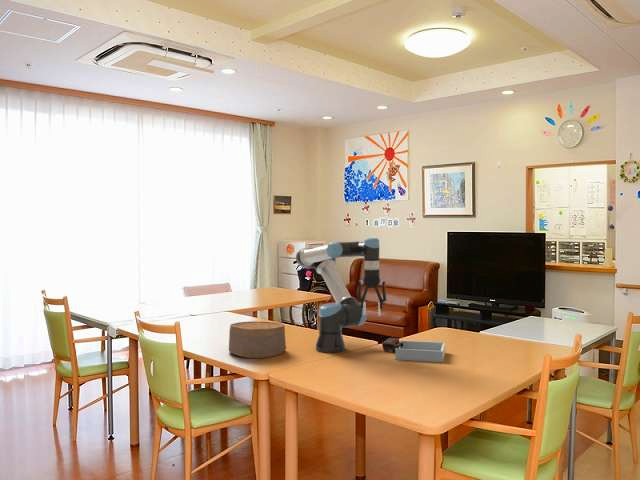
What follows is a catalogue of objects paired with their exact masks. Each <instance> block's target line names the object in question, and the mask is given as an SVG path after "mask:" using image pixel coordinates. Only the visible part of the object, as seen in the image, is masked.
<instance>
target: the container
mask: <svg viewBox="0 0 640 480" xmlns="http://www.w3.org/2000/svg"><path fill="white" fill-rule="evenodd" d="M285 327H286V326H285V324H284V323H281V322H280V323H279V322H271V321H270V322H269V321H239V322H234V323H231V324H230V326H229V335H228V336H229V337H228V352H229V353H231V354H233V355H236V356H238V357H239V356H240V357H242V358H248V359H265V358H271V357H277V356H278V355H281V354H282V353H283V352H285V351H286V349H287V346H286V345H287V344H286V330H285V329H286V328H285Z"/></svg>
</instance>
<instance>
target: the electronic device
mask: <svg viewBox="0 0 640 480" xmlns="http://www.w3.org/2000/svg"><path fill="white" fill-rule="evenodd" d="M400 341H401V340H400V338H396V337H388V338H387V339H385V340H384V341H383V342H382V343H381V346H382V349H383V351H385V352H390V353H393V352H394V353H395V349H396V348H398V349H400V347H403V343H401V342H400Z"/></svg>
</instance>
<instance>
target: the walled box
mask: <svg viewBox="0 0 640 480" xmlns="http://www.w3.org/2000/svg"><path fill="white" fill-rule="evenodd" d="M399 341H400V342H401V343H403V347H399V349H398V348H396V349H395V352H394V353H395V354H394V355H395V356H394V357H395V360H397V361H398V360H400V361H401V360H402V361H413V362H414V361H417V362H418V361H419V362H429V363H431V362H432V363H444V359H445V354H446V343H445V342H438V341H421V340H420V341H419V340H417V341H416V340H403V339H402V340H399Z"/></svg>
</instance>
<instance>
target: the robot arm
mask: <svg viewBox="0 0 640 480" xmlns="http://www.w3.org/2000/svg"><path fill="white" fill-rule="evenodd" d="M351 257H353V258H354V257H355V258H357V257H362V258H363V257H364V259H363V266H364V267H363V269H364V271H363V272H364V273H363V275H364V276H363V279H362V280H358V282H357V284H358V291H357V299H356V298H355V297H354V296H351V294H350V292H349V291H348V290H349V289H348V288H347V287H346V285H345V283H344V282H343V280H342V278H341V276H340V274H339V272H338V270H337V269H336V267H335V266H336V263H337V259H339V258H351ZM295 260H296V263H297V264H298V266H300V267H302V268H303V269H315V271H316V273H317V274H319V275H321V277H322V279H323V280H324V282H325V284H326V286H327V288H328V290H329V291H330V294H331V296H332V297H333V299H334V301H335V302H329V303H325V304H322V305H321V306H319V309H318V338H317V340H316V343H315V351H316V352H320V353H341V352H344V351H346V342H345V340H344V338H343V333H342V331H343V328H351V327H358V326H363V325H364V324H365V323H366V320H367V317H368V316H367V315H368V311H367V307H366V306H367V304H366V303H367V302H366V301H365V300H366V297H367V295H368V291H369V289H374V290H375V293H376V295H377V298H378V301H379V302H377V308H378V309H377V312H378V313H377V315H378V317H380V316H381V315H382V314H381V313H382V312H381V311H382V310H383V309H384V307H383V306H384V305H383V304H384V302H386V301H387V292H386V281H385V280H384V281H383V280H381V279H380V239H379V238H377V237H375V238H374V237H373V238H372V237H371V238H370V237H367V238H364V239H363V241H345V242H344V241H343V242H342V241H341V242H339V241H338V242H337V241H333V242H329V243H328V244H326V245H321V246H317V247H304V248H301V249H299V250H298V251H297V253H296V255H295ZM363 285H365V288H364V292H363V293H362V291H363ZM379 285H381V292H380V289H379ZM381 293H382V295H381Z"/></svg>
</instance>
